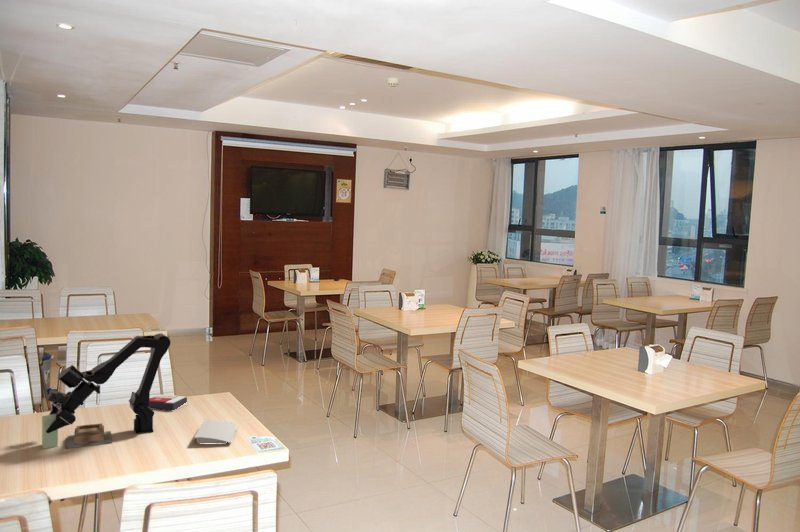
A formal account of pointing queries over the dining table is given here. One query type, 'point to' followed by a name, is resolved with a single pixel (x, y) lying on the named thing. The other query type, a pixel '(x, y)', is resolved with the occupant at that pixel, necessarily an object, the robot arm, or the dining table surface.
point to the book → (215, 431)
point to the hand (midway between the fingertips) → (45, 428)
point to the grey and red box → (167, 402)
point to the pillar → (52, 437)
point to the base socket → (89, 436)
